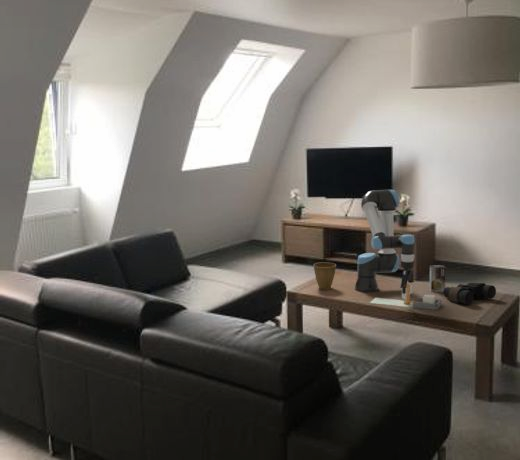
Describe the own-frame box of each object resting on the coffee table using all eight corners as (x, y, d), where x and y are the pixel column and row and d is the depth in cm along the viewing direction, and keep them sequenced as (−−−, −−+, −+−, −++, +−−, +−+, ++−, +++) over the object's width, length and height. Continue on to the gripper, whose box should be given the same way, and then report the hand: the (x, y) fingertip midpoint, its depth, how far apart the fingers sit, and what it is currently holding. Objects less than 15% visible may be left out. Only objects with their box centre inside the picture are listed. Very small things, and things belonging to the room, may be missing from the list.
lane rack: (369, 303, 372) (369, 297, 372) (375, 298, 383) (375, 292, 382) (437, 311, 354) (437, 304, 354) (441, 305, 365) (441, 299, 364)
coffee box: (443, 289, 401) (444, 265, 398) (445, 291, 394) (446, 267, 392) (429, 289, 402) (429, 265, 399) (430, 291, 395) (431, 267, 393)
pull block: (402, 304, 366) (402, 285, 364) (405, 302, 372) (405, 282, 370) (433, 308, 358) (433, 287, 356) (435, 305, 364) (435, 285, 362)
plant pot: (310, 290, 407) (310, 266, 404) (317, 284, 420) (317, 261, 418) (332, 291, 401) (332, 267, 398) (338, 286, 415) (338, 262, 412)
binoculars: (465, 307, 359) (465, 290, 358) (437, 302, 376) (437, 286, 375) (496, 299, 375) (496, 282, 374) (468, 294, 392) (468, 279, 391)
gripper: (408, 265, 351) (408, 301, 354) (418, 257, 373) (418, 291, 376) (395, 264, 355) (395, 300, 358) (406, 256, 377) (405, 290, 380)
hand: (407, 295), depth 367 cm, fingers open, 13 cm apart
